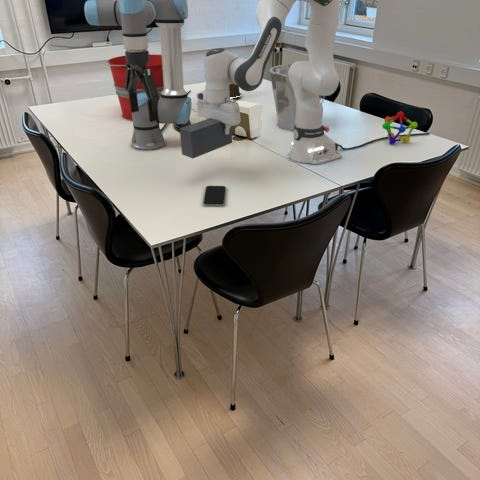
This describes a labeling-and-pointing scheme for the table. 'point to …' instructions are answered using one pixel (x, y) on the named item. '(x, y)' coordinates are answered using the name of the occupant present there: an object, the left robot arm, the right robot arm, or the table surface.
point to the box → (204, 137)
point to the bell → (234, 90)
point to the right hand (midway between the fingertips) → (219, 131)
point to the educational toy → (398, 128)
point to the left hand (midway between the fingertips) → (144, 116)
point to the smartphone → (214, 196)
